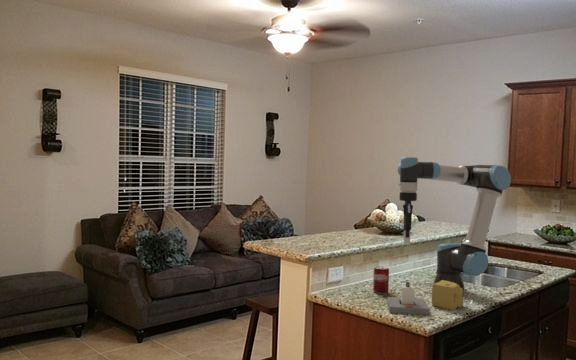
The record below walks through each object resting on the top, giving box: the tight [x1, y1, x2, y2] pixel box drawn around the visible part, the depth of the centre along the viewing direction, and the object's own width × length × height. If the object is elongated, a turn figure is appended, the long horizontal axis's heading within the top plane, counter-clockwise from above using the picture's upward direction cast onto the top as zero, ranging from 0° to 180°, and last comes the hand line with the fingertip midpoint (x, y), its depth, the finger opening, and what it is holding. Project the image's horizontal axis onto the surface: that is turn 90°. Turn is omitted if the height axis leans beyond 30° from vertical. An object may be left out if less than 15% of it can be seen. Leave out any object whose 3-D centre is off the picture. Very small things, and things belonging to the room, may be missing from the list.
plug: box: [400, 281, 415, 305], centre depth 220 cm, size 5×5×11 cm
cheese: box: [431, 280, 464, 311], centre depth 226 cm, size 10×11×10 cm
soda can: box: [372, 265, 390, 295], centre depth 248 cm, size 7×7×12 cm
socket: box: [386, 296, 430, 316], centre depth 221 cm, size 16×16×3 cm
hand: (406, 244), depth 229 cm, fingers closed
